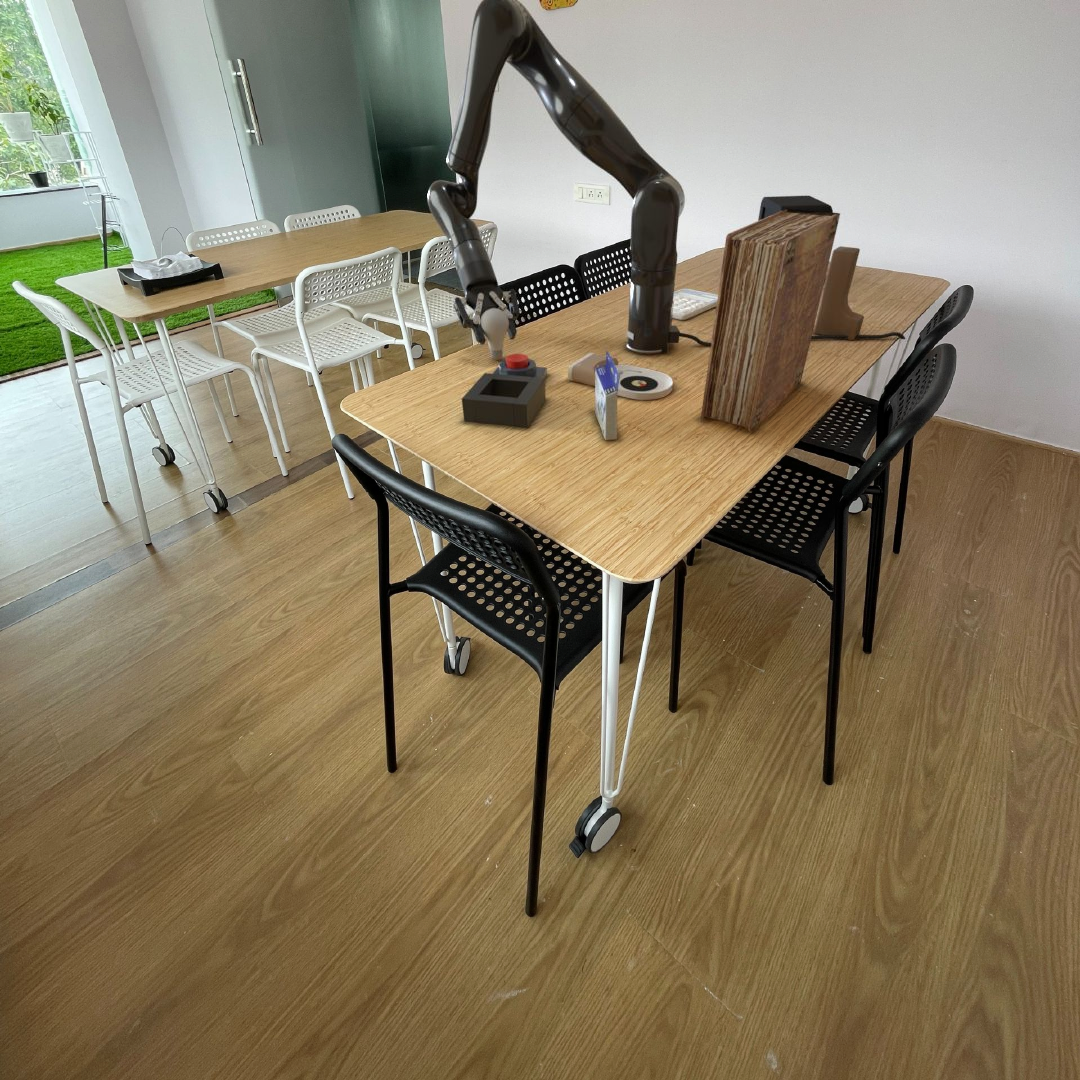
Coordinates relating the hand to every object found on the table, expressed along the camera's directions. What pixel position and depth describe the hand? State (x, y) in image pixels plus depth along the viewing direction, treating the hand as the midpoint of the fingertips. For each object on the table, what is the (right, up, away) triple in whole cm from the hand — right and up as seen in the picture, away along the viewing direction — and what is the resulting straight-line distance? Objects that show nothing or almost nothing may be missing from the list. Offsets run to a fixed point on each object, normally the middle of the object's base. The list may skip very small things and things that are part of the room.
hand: (498, 340), depth 131 cm
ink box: (+20, -23, -22) cm, 38 cm away
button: (+4, -8, -7) cm, 11 cm away
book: (+49, -17, -16) cm, 54 cm away
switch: (+4, -10, -5) cm, 12 cm away
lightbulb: (-1, -3, +4) cm, 5 cm away
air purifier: (+81, +35, +52) cm, 102 cm away
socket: (+3, -18, -16) cm, 25 cm away
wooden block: (+77, +5, +11) cm, 78 cm away
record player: (+25, -11, -8) cm, 29 cm away
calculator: (+47, +19, +31) cm, 59 cm away
